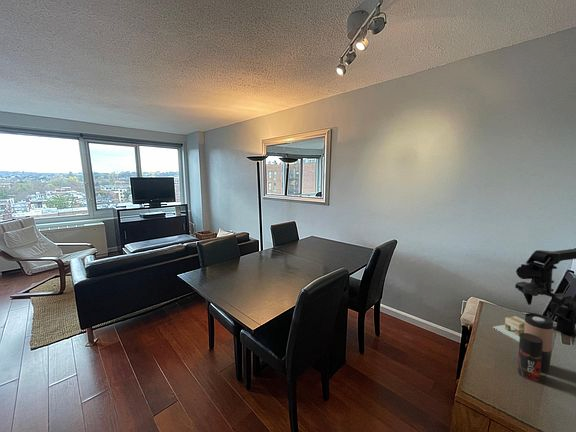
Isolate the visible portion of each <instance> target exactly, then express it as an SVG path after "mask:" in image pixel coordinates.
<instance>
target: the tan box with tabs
mask: <svg viewBox="0 0 576 432" xmlns="http://www.w3.org/2000/svg"><path fill="white" fill-rule="evenodd" d="M504 325H505V330H507V331H511V327H512V328H513V329H515V335H517V336H520V333H521V330H523V333H524V325H525V319H523V318H520V317H518V316H516V315H514V316H509V317H505V318H504Z"/></svg>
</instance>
